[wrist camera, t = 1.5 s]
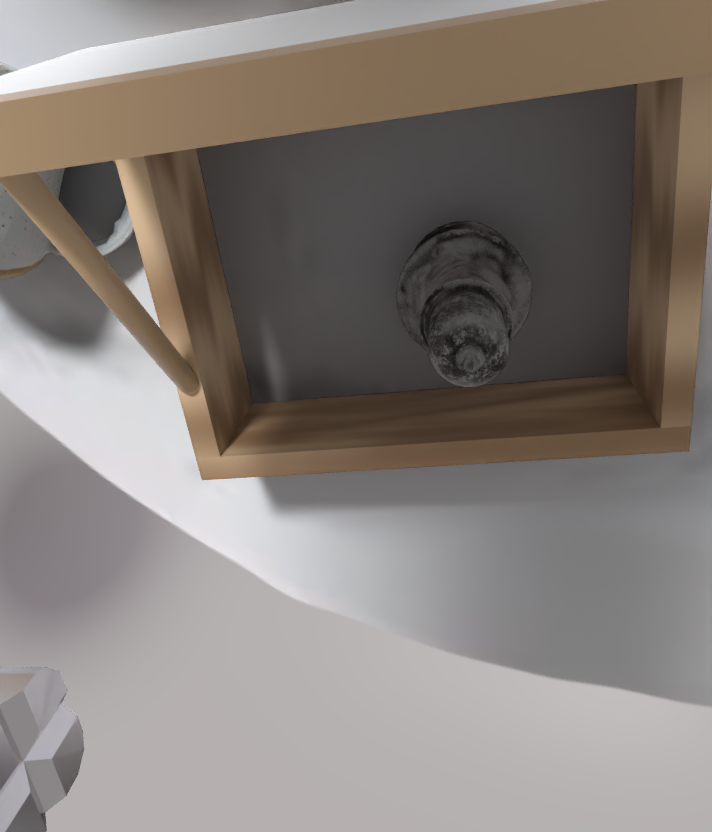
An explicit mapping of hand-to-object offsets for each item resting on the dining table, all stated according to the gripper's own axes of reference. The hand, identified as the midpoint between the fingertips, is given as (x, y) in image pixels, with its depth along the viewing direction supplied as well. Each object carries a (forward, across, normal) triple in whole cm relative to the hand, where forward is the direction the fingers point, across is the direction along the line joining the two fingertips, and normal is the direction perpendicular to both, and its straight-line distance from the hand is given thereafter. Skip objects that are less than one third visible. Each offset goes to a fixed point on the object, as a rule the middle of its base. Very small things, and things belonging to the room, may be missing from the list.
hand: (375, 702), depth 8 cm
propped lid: (+21, 0, -4) cm, 21 cm away
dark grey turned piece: (+27, -2, 0) cm, 27 cm away
